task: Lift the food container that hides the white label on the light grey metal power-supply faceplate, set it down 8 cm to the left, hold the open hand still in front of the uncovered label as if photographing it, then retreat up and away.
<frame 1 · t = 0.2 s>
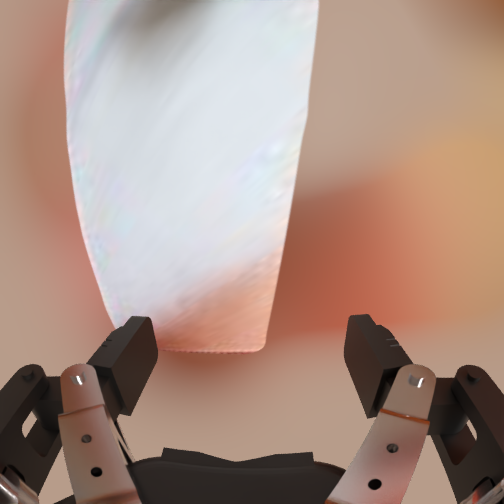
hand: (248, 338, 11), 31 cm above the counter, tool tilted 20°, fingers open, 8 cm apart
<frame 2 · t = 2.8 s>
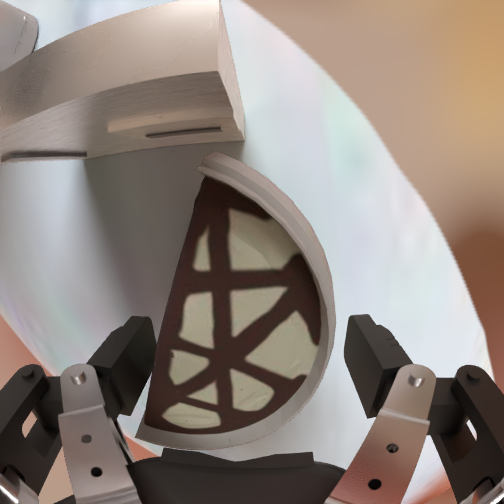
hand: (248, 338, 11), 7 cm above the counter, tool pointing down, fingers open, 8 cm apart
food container: (248, 270, 18), on the counter, touching gripper
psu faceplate: (154, 133, 15), on the counter
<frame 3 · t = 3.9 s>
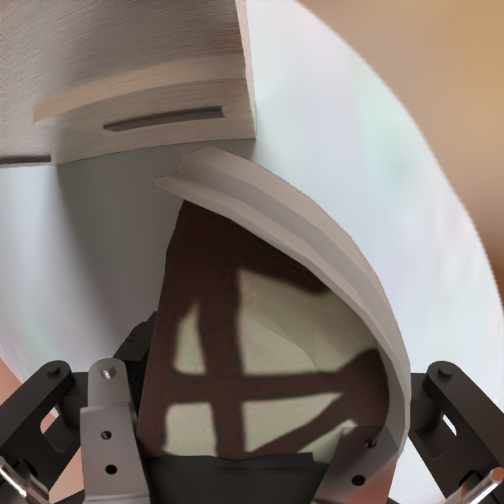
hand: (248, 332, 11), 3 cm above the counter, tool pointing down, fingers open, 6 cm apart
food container: (262, 305, 14), on the counter, touching gripper
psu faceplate: (138, 130, 12), on the counter
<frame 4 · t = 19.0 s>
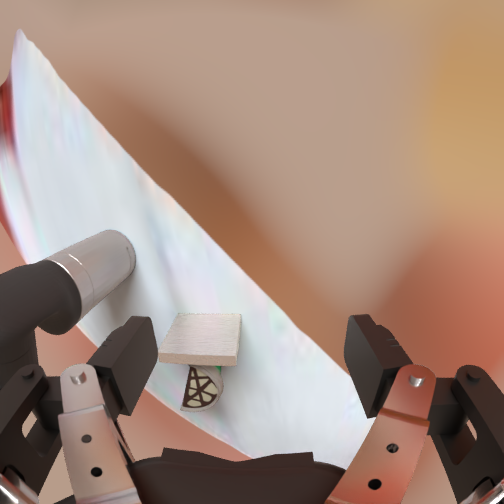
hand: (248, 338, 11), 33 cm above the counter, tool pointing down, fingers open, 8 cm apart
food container: (211, 358, 50), on the counter
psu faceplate: (209, 318, 48), on the counter
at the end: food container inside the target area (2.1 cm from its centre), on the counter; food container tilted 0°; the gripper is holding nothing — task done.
